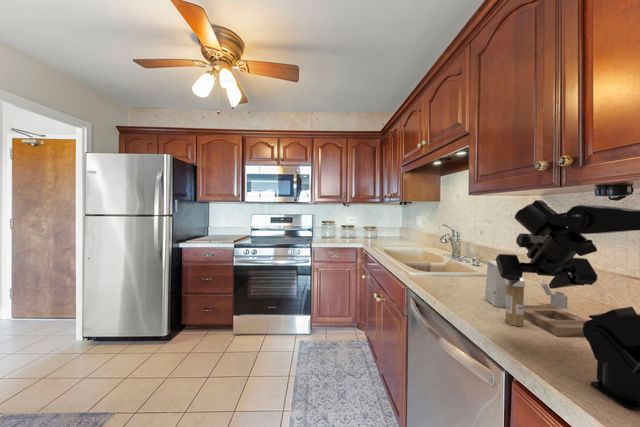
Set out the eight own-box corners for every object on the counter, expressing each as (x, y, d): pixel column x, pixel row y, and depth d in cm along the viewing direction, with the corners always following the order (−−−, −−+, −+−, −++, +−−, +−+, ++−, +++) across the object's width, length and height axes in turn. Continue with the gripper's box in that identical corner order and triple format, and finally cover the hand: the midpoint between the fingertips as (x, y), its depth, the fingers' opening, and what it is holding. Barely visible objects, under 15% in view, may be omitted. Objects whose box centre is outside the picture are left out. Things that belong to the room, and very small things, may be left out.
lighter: (565, 307, 90) (565, 284, 90) (567, 308, 89) (568, 285, 89) (539, 303, 93) (540, 281, 93) (541, 305, 92) (542, 282, 92)
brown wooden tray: (605, 336, 69) (605, 327, 69) (557, 336, 69) (557, 327, 69) (550, 312, 85) (550, 305, 85) (511, 312, 85) (511, 305, 85)
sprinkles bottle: (525, 328, 74) (526, 281, 73) (505, 324, 76) (506, 279, 76) (522, 322, 77) (523, 277, 77) (503, 318, 80) (504, 275, 80)
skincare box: (484, 299, 97) (485, 259, 97) (502, 300, 96) (503, 260, 96) (494, 307, 89) (496, 264, 89) (514, 308, 88) (515, 265, 88)
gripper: (590, 224, 61) (558, 262, 72) (499, 222, 66) (483, 258, 76) (617, 265, 53) (577, 299, 64) (512, 259, 58) (492, 292, 69)
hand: (529, 285), depth 69 cm, fingers open, 9 cm apart
